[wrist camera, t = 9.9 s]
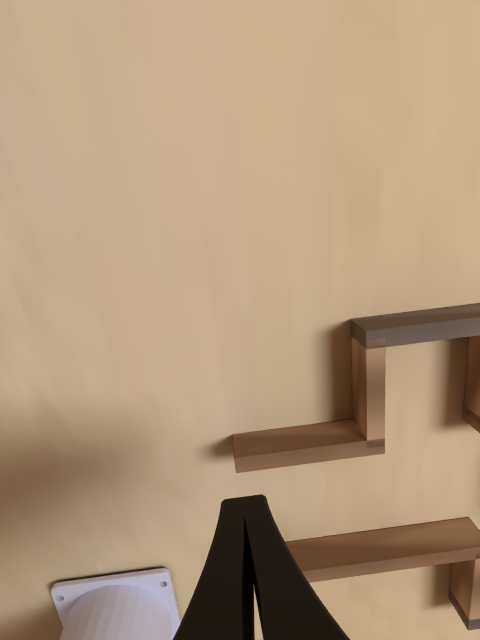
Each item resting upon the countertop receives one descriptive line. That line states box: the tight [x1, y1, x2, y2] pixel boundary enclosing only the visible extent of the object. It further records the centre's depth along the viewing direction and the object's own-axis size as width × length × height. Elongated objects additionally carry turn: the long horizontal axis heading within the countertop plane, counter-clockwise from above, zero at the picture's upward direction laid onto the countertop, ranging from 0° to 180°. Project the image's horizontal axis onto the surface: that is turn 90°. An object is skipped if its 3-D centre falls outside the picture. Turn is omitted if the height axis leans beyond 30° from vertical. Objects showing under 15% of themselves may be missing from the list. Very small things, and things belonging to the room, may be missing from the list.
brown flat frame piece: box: [233, 303, 480, 630], centre depth 22 cm, size 23×26×2 cm
